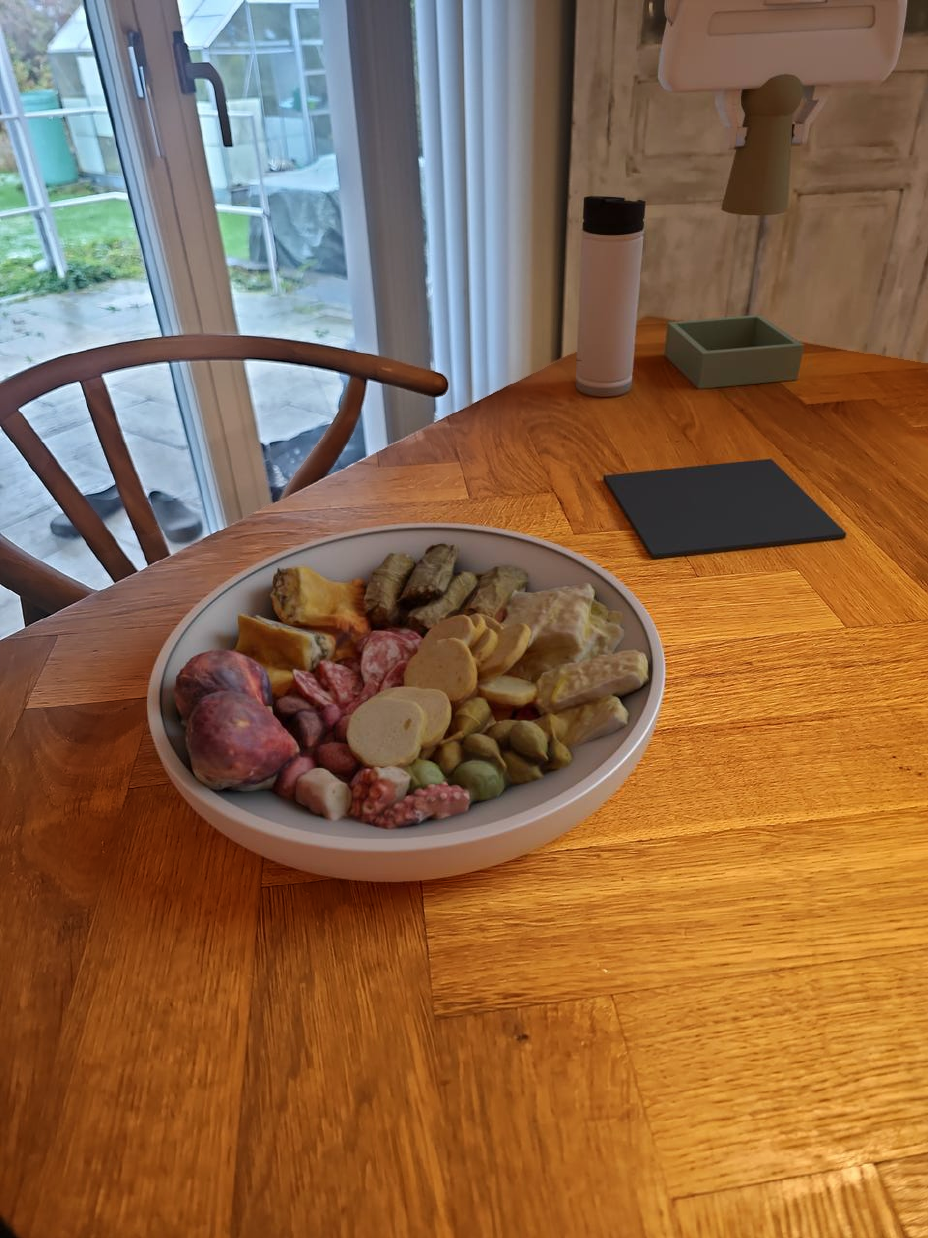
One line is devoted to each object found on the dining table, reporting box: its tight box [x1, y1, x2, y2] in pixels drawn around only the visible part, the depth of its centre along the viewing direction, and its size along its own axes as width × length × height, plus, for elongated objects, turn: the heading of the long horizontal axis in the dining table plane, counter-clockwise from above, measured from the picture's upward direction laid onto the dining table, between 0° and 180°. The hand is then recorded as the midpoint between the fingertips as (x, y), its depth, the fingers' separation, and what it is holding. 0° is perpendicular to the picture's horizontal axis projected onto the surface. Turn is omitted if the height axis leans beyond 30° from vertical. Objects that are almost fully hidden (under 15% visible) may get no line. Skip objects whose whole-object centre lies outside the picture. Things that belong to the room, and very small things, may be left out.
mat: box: [603, 458, 847, 560], centre depth 73 cm, size 16×14×1 cm
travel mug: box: [575, 195, 646, 398], centre depth 90 cm, size 6×7×20 cm
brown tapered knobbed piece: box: [720, 74, 804, 216], centre depth 76 cm, size 6×6×11 cm
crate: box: [663, 314, 805, 390], centre depth 98 cm, size 12×12×4 cm
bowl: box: [146, 522, 666, 883], centre depth 51 cm, size 30×30×8 cm
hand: (764, 146), depth 76 cm, fingers closed on brown tapered knobbed piece, 4 cm apart
